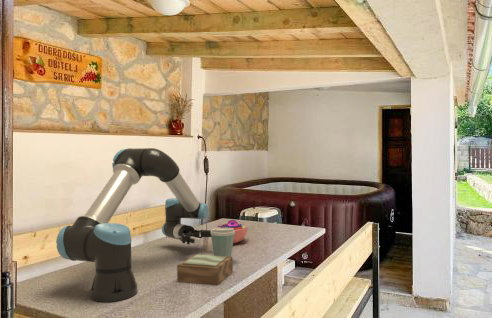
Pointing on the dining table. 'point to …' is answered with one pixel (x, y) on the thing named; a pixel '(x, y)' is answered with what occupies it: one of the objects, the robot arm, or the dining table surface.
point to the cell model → (236, 230)
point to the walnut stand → (205, 269)
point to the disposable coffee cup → (222, 241)
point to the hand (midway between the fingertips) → (212, 239)
